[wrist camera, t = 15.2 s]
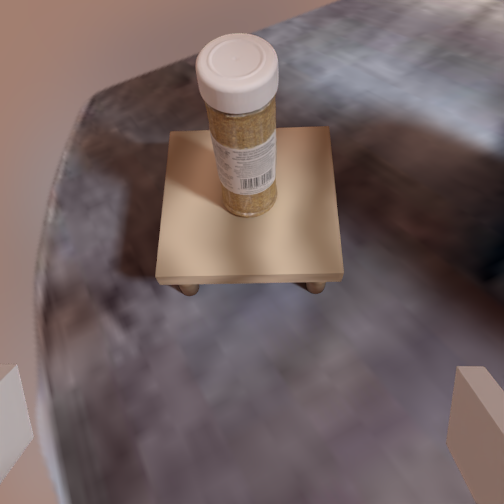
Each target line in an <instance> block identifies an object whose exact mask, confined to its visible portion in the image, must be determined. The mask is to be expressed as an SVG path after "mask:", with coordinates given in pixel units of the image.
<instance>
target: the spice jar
mask: <svg viewBox="0 0 504 504" xmlns="http://www.w3.org/2000/svg"><path fill="white" fill-rule="evenodd" d="M196 75H197V81H198V86H199V91H200V94H201V96H202V98H203V99H204V102H205V105H206V109H207V115H208V120H209V129H210V135H211V139H212V144H213V149H214V155H215V160H216V165H217V171H218V176H219V179H220V182H221V187H222V200H223V202H224V205H225V206H226V208H227V209H228V210H229V211H230V212H232V213H233V214H235V215H238V216H240V217H246V218H251V217H257V216H260V215H262V214H264V213H266V212H268V211H269V210H270V209H271V208H272V207H273V205H274V204H275V202H276V199H277V195H278V192H277V186H276V165H277V139H276V117H275V116H276V106H275V96H276V92H277V89H278V58H277V55H276V52H275V50H274V48H273V47H272V46H271V45H270V44H269V43H268V42H267V41H266V40H264V39H262V38H260V37H258V36H255V35H251V34H245V33H234V34H227V35H224V36H220V37H218V38H216V39H214V40H212V41H210V42H209V43H208V44H207V45H206V46H204V47H203V49H202V50H201V51H200V53H199V55H198V57H197V59H196Z"/></svg>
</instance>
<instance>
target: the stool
mask: <svg viewBox="0 0 504 504" xmlns="http://www.w3.org/2000/svg"><path fill="white" fill-rule="evenodd" d="M276 139H277V165H276V186H277V192H278V195H277V199H276V202H275V204H274V205H273V207H272V208H271V209H270V210H269V211H268V212H266V213H264V214H262V215H260V216H257V217H251V218H246V217H240V216H238V215H235V214H233V213H232V212H230V211H229V210H228V209H227V208H226V206H225V205H224V202H223V200H222V187H221V182H220V179H219V176H218V171H217V165H216V160H215V155H214V149H213V144H212V139H211V135H210V130H201V131H171V132H170V139H169V149H168V158H167V168H166V178H165V187H164V197H163V206H162V216H161V226H160V235H159V245H158V255H157V264H156V274H155V277H156V279H157V281H158V282H159V284H160V285H179V287H180V289H181V291H182V293H183V294H184V295H186V296H193V295H195V294H196V293H197V292H198V290H199V284H234V283H287V282H306V287H307V289H308V291H309V292H311V293H313V294H318V293H321V292H322V291H323V290H324V287H325V283H326V282H341V280H342V277H343V274H344V270H343V260H342V250H341V240H340V230H339V220H338V210H337V201H336V191H335V181H334V171H333V161H332V151H331V141H330V131H329V126H321V127H291V128H276Z"/></svg>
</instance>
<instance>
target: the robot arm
mask: <svg viewBox="0 0 504 504" xmlns="http://www.w3.org/2000/svg"><path fill="white" fill-rule="evenodd" d="M33 438H34V437H33V432H32V427H31V423H30V418H29V414H28V409H27V405H26V400H25V396H24V392H23V387H22V383H21V378H20V374H19V369H18V365H17V364H0V484H1V482H2V481H3V479H4V478H5V477H6V475H7V474H8V473H9V471H10V470H11V468H12V467H13V466H14V464H15V463H16V461H17V460H18V459H19V457H20V456H21V454H22V453H23V452H24V450H25V449H26V447H27V446H28V445H29V444H30V442H31V441H32V439H33ZM446 444H447V446H448V448H449V450H450V452H451V454H452V456H453V458H454V460H455V462H456V464H457V466H458V468H459V470H460V472H461V474H462V476H463V478H464V480H465V482H466V484H467V486H468V488H469V490H470V492H471V494H472V496H473V498H474V500H475V502H476V504H504V391H503V390H502V389H501V387H500V386H499V385H498V384H497V382H496V381H495V380H494V379H493V377H492V376H491V375H490V373H489V372H488V371H487V370H486V368H485V367H480V366H457V368H456V376H455V383H454V390H453V397H452V405H451V412H450V419H449V426H448V434H447V441H446Z"/></svg>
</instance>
